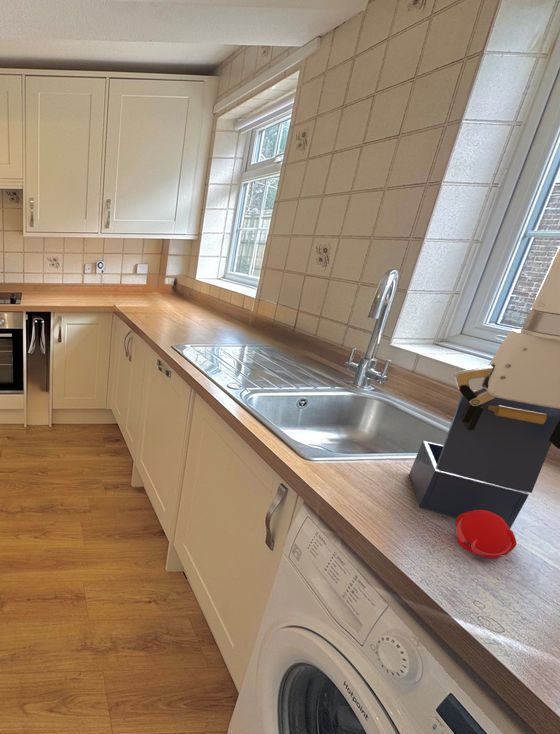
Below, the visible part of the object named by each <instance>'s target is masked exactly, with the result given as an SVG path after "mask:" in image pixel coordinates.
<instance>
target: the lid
mask: <svg viewBox="0 0 560 734" xmlns="http://www.w3.org/2000/svg"><path fill="white" fill-rule="evenodd" d="M471 390H472V389H471ZM472 391H473V392H474V391H475V390H472ZM467 402H468V400H467V399H466V398H465V397H464V396H463V394H462V393H461V394H460V397H459V400H458V404H457V406H456V408H455V411H454V415H453V417H452V420H451V423H450V426H449V429H448V432H447V435H446V437H445V441H444V443H443V445H444V446H443V449H442V451H441V454H440V457H439V460H438V463H437V466H436V469H439V470H442V471H446V472H450V473H454V474H458V475H462V476H466V477H470V478H474V479H478V480H482V481H486V482H490V483H494V484H498V485H502V486H506V487H510V488H514V489H517V490H521V491H525V492H527V493H528V494H532V493H533V491H534V489H535V486H536V483H537V480H538V479H539V476H540V473H541V471H542V469H543V466H544V463H545V461H546V458H547V456H548V453H549V451H550V448H551V446H552V445H553V444H552V443H551V442H550V441H549V439H550V437H551V435H552V433H553V431H554V429H555V428H556V426H557V424H558V422H559V420H560V409H557V408H551V407H546V406H540V405H534V404H528V403H522V402H517V401H511V400H506V399H501V398H497V397H496V398H494V399H492V400H490V401H487V402H485V403H483V404H482V405H481V406H482V408H483V411H482V413H481V415H480V418H479V420H478V422H477V424H476V426H475V428H474V430H467V429H466V427H465V426H464V424H463V422H461V415H462V413H463V411H464V409H465V406H466V404H467Z"/></svg>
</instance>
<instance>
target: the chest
mask: <svg viewBox="0 0 560 734" xmlns="http://www.w3.org/2000/svg"><path fill="white" fill-rule="evenodd" d="M443 446H444V444H440V443H435V442H431V441H426V440H422V442H421V444H420V447H419V449H418V451H417V453H416V456H415V459H414V461H413V463H412V466H411V468H410V471H409V477H410V480H411V484H412V487H413V490H414V495H415V498H416V501H417V504H418V507H419V508H421V509H424V510H428V511H431V512H435V513H438V514H442V515H445V516H448V517H451V518H454V519H457V518H458V516H459V515H461V514H463V513H466V512H468V511H474V510H486V511H490V512H492V513H494V514H496V515H498V516H500V517H501V518H503V519H504V521H505V522H506V524H507V525H508V527H509V529H510V530H511V528H512V526H513V525H514V523H515V521H516V519H517V518H518V516H519V513H520V512H521V511H522V508H523V506H524V505H525V503H526V501H527V499H528V498H529V497H530V493H529V492H525V491H521V490H517V489H514V488H510V487H506V486H502V485H498V484H494V483H490V482H486V481H482V480H478V479H474V478H470V477H466V476H462V475H458V474H454V473H450V472H446V471H442V470H439V469H436V466H437V463H438V460H439V457H440V454H441V451H442V449H443Z"/></svg>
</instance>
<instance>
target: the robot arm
mask: <svg viewBox="0 0 560 734" xmlns="http://www.w3.org/2000/svg"><path fill="white" fill-rule="evenodd" d="M453 376H454V379H455V383H456V386H457V390H459V392H460V393H461V394H463V396H464V397H465V398H466V399H467V400H468V402H467V404H466V406H465V409H464V411H463V413H462V415H461V422H463V424H464V426H465V427H466V429H467V430H474V428H475V426H476V424H477V422H478V420H479V418H480V415H481V413H482V411H483V408H482V406H481V405H482V404H483V403H485V402H487V401H490V400H492V399H494V398H496V397H497V398H501V399H506V400H511V401H517V402H522V403H528V404H534V405H540V406H546V407H551V408H557V409H560V245H559V246H558V247H557V250H556V252H555V255H554V257H553V259H552V262H551V263H550V266H549V268H548V270H547V272H546V274H545V276H544V278H543V281H542V283H541V286H540V287H539V290H538V292H537V294H536V296H535V298H534V301H533V303H532V305H531V307H530V309H529V311H528V313H527V315H526V318H525V320H524V322H523V324H522V327H521V328H520V329H516V328H514V329H512V330H511V331H510V332H509V333H508V334H507V336H506V337H505V339H504V340H503V341H502V343H501V344H500V346H499V347H498V349H497V351H496V352H495V354H494V355H493V357H492V358H491V361H490V362H489V364H488V365H487V366H482V367H476V368H470V369H465V370H460V371H456V372H455V373H454V374H453ZM480 378H481V380H480V386H481V387H480V388H478V389H476V390H473V391H474V392H473V391H472V389H471V387H470V383H469V382H470V381H471V380H475V379H480ZM549 441H550V442H551V443H552V444H551V445H553V446H554V447H555V448H556V449H558V450H560V420H559V422H558V424H557V426H556V428H555V429H554V431H553V433H552V435H551V437H550V439H549Z"/></svg>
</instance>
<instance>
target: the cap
mask: <svg viewBox="0 0 560 734" xmlns="http://www.w3.org/2000/svg"><path fill="white" fill-rule="evenodd" d="M455 529H456V530H455V531H456V532H455V533H456V541H457V544H459V546H460V547H462V548H463V549H464V550H466V551H467V552H468V553H471V554H473V555H475V556H478V557H482V558H487V559H499V558H501V557H502V556H507V555H508V554H509V553H511V552H512V551H513V550H514V549H515V547H516V546H517V538H516V536H515V534H514V531H513V530H511V528H510V529H509V527H508V525H507V524H506V522H505V521H504V519H503V518H501V517H500V516H498V515H496V514H494V513H492V512H490V511H486V510H474V511H468V512H466V513H463V514H461V515H459V516H458V518H456V521H455ZM467 542H468V543H467Z"/></svg>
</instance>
